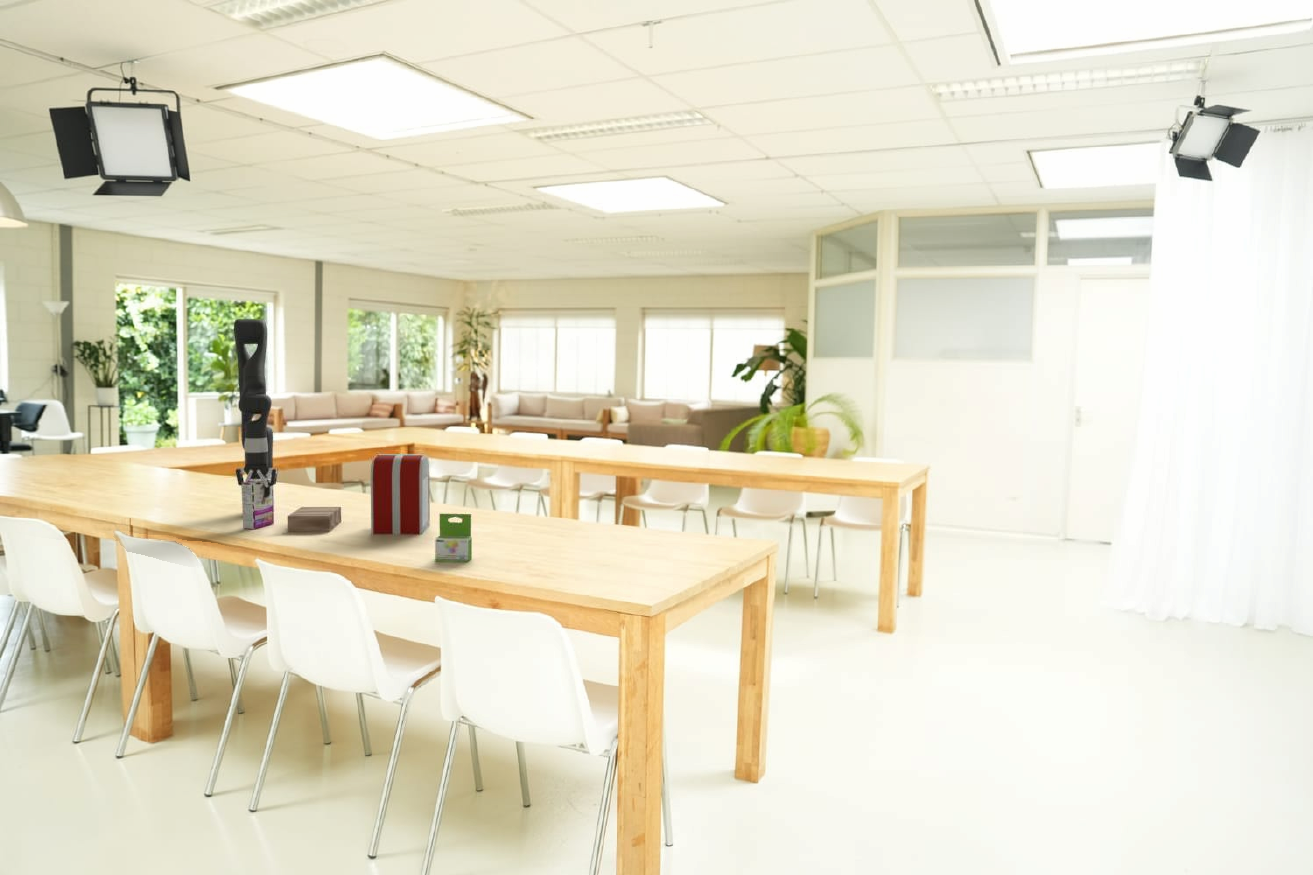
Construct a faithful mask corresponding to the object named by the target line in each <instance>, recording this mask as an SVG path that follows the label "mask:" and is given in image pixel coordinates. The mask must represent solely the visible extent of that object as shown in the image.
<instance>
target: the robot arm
mask: <svg viewBox="0 0 1313 875" xmlns="http://www.w3.org/2000/svg"><path fill="white" fill-rule="evenodd" d="M233 336H234V341H235V343H234V344H235V349H236V359H237V378H238V390H239V392H238V393H239V394H238V395H239V399H238V404H237V405H238V406H237V407H238V410H239V411H240V413H241V414H240V415H241V416H240V417H241V420H240V422H241V445H242V449H243V450H244V467H243V468H241V467H239V468H236V469H235V475H236V480H237V484H238V486H241V484H242V483H246V482H250V481H254V480H259V479H261V480H262V482H263V483H264V485H265V498H268V497H269V496H270V494H271V490H270V487H271V486H272V485H273V512H275V497H274V496H275V495H274V494H275V490H274V488H275V487H274V486H275V485H276V484H277V478H278V473H279V472H278V471H279V469H278V468H277V467H276V468H274V461H273V460H274V458H273V457H274V432H273V429H272V427H269V426H268V418H269V415H270V411H271V408H272V405H273V404H272V399H271V397H270V396H269V395H268V394H267V387H266V386H267V384H266V376H265V374H266V373H265V372H266V371H265V369H266V368H265V367H266V358H267V346H268V327H267V322H266V321H265V320H264V319H261V318H238V319H237V318H236V319H235V320H234V323H233ZM246 345H257V347H256V349H255V351H254V352H253V354H252V355H250V354H249V353H248V350H247V348H246ZM259 414H260V417H259V418H257V419H255V420H253V418H254V416H255V415H259ZM243 474H246V478H245V480H244V475H243ZM269 479H271V482H269Z"/></svg>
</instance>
